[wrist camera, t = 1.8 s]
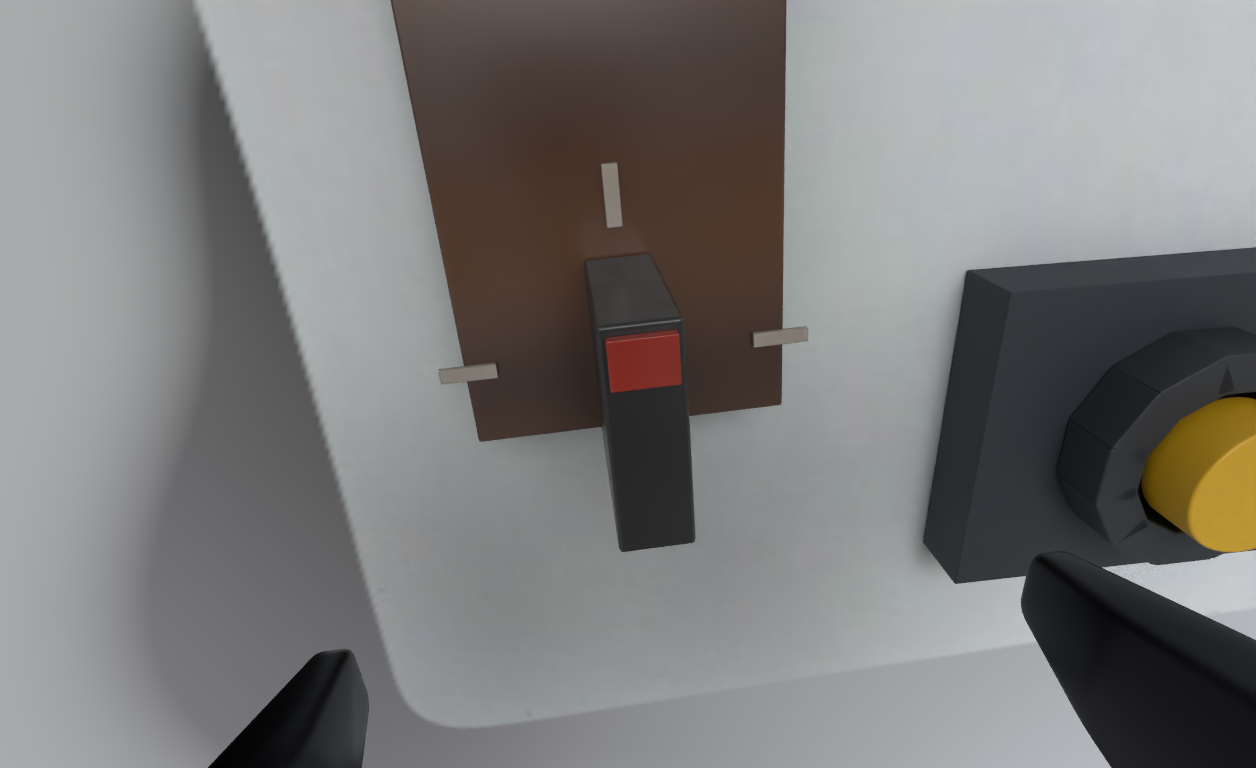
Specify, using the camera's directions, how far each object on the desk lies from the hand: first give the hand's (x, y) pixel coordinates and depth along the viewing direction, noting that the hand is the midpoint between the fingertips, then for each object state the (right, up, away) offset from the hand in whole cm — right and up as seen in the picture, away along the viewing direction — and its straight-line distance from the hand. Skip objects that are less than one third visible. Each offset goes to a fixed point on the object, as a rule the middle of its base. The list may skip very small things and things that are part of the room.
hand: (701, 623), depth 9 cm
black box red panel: (-1, +4, +8) cm, 9 cm away
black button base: (+15, +3, +14) cm, 21 cm away
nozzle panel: (-2, +9, +9) cm, 13 cm away
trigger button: (+16, +1, +11) cm, 19 cm away
